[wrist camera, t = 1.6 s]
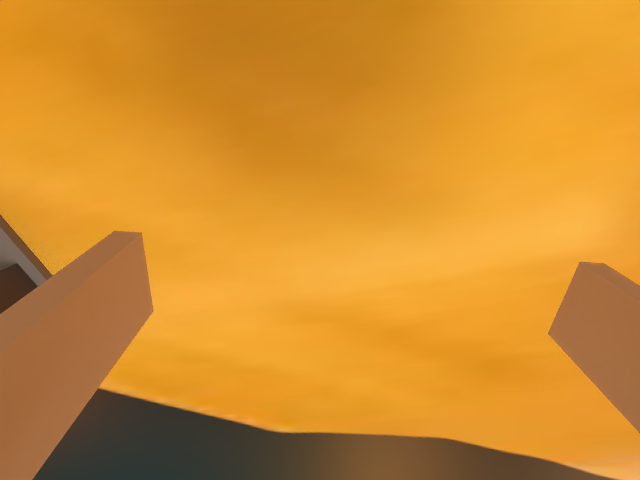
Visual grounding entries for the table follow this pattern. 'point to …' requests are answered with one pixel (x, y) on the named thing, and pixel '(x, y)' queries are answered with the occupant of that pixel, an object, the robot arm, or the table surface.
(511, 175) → the table surface
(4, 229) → the rail
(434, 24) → the table surface
